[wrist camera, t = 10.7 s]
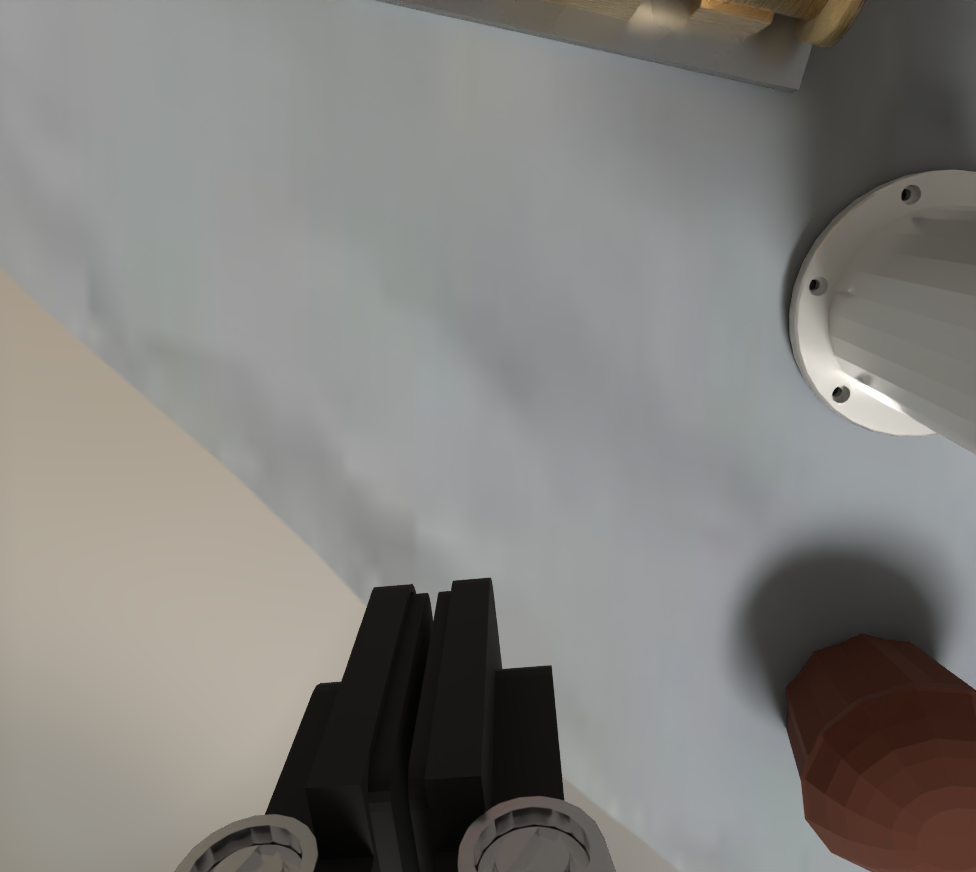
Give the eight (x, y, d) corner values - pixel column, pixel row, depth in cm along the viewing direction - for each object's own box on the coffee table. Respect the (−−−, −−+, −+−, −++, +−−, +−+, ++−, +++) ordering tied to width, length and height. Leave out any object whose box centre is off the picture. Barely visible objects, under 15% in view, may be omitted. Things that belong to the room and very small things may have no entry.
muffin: (721, 730, 45) (777, 872, 36) (834, 580, 42) (928, 692, 33) (887, 811, 47) (984, 969, 37) (1008, 672, 44) (1147, 805, 34)
